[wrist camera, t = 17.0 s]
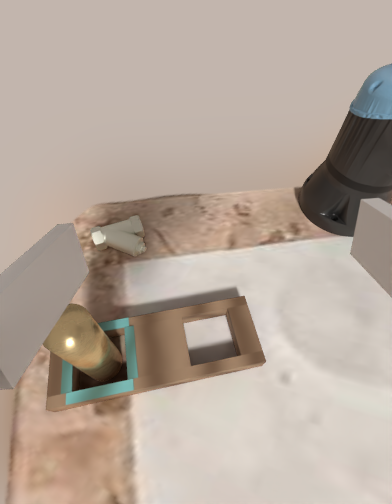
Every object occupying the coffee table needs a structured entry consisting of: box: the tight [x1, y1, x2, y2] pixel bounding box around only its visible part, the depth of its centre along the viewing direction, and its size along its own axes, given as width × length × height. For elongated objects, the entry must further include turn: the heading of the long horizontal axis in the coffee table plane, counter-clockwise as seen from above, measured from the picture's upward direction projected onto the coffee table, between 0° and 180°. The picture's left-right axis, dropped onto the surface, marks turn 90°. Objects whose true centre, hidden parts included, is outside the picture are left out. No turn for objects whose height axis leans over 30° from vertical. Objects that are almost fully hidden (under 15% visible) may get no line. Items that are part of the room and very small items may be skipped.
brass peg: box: [43, 304, 122, 381], centre depth 31 cm, size 4×4×14 cm
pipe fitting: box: [91, 215, 147, 256], centre depth 46 cm, size 8×4×7 cm
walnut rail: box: [46, 296, 266, 412], centre depth 36 cm, size 26×9×3 cm, turn 102°
